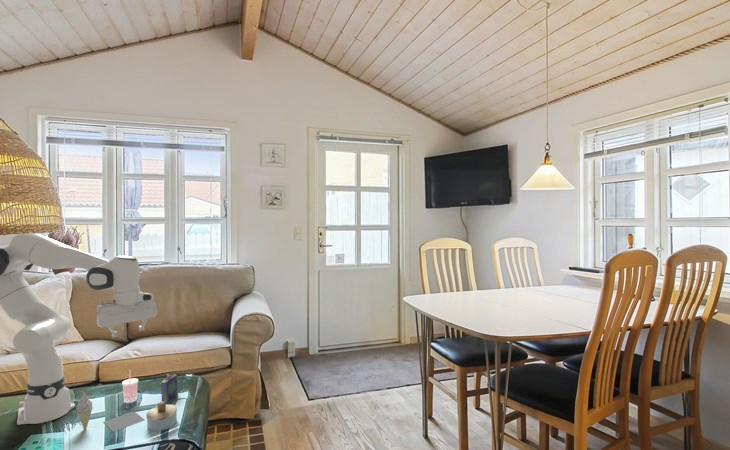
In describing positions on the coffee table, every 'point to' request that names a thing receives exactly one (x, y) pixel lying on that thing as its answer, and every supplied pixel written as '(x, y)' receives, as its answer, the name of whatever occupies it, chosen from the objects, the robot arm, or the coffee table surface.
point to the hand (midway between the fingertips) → (128, 333)
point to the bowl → (162, 423)
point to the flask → (169, 387)
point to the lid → (161, 412)
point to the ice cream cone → (84, 410)
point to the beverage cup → (130, 389)
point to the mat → (123, 421)
